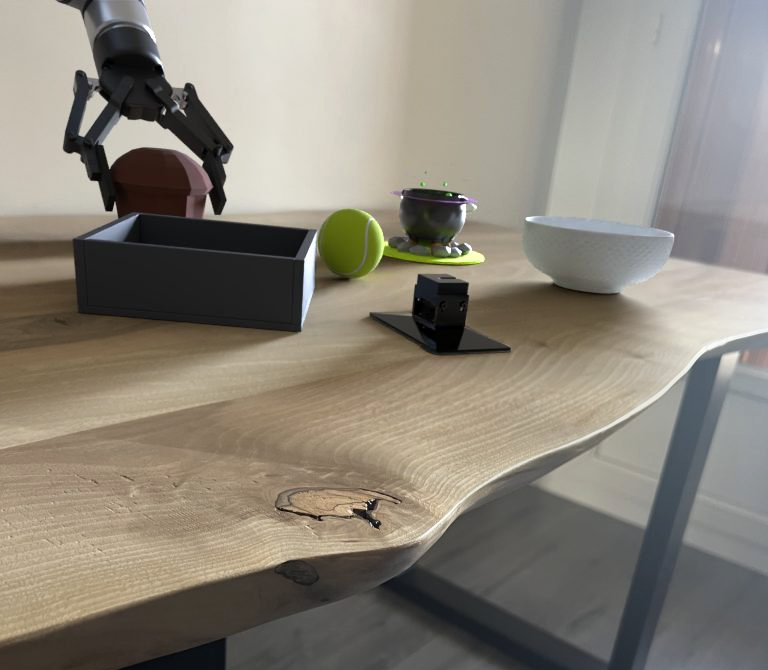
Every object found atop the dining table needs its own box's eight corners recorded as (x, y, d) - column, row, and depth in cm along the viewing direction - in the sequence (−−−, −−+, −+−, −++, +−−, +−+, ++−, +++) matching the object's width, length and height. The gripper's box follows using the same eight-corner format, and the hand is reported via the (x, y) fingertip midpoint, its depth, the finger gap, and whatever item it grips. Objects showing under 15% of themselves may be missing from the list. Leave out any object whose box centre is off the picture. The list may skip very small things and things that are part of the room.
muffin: (214, 239, 101) (215, 151, 97) (211, 254, 91) (212, 157, 87) (114, 231, 99) (110, 141, 94) (101, 245, 89) (96, 146, 85)
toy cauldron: (499, 256, 111) (512, 169, 107) (460, 269, 99) (473, 171, 94) (399, 239, 117) (407, 156, 112) (351, 250, 104) (358, 157, 99)
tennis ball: (306, 278, 85) (309, 207, 82) (329, 268, 91) (333, 202, 88) (369, 287, 84) (375, 216, 81) (388, 277, 90) (394, 210, 87)
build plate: (511, 353, 66) (521, 295, 64) (433, 357, 63) (441, 296, 61) (436, 314, 76) (442, 262, 74) (365, 315, 72) (369, 262, 70)
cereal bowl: (647, 282, 103) (660, 224, 100) (672, 310, 88) (689, 242, 85) (513, 267, 104) (522, 208, 101) (516, 291, 89) (527, 223, 86)
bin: (77, 312, 64) (72, 238, 62) (135, 272, 80) (132, 211, 78) (301, 332, 65) (304, 260, 63) (314, 288, 81) (317, 229, 78)
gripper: (214, 85, 105) (257, 229, 100) (12, 62, 93) (51, 224, 88) (230, 37, 99) (277, 188, 94) (16, 6, 87) (57, 177, 82)
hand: (167, 205), depth 91 cm, fingers closed on muffin, 12 cm apart
